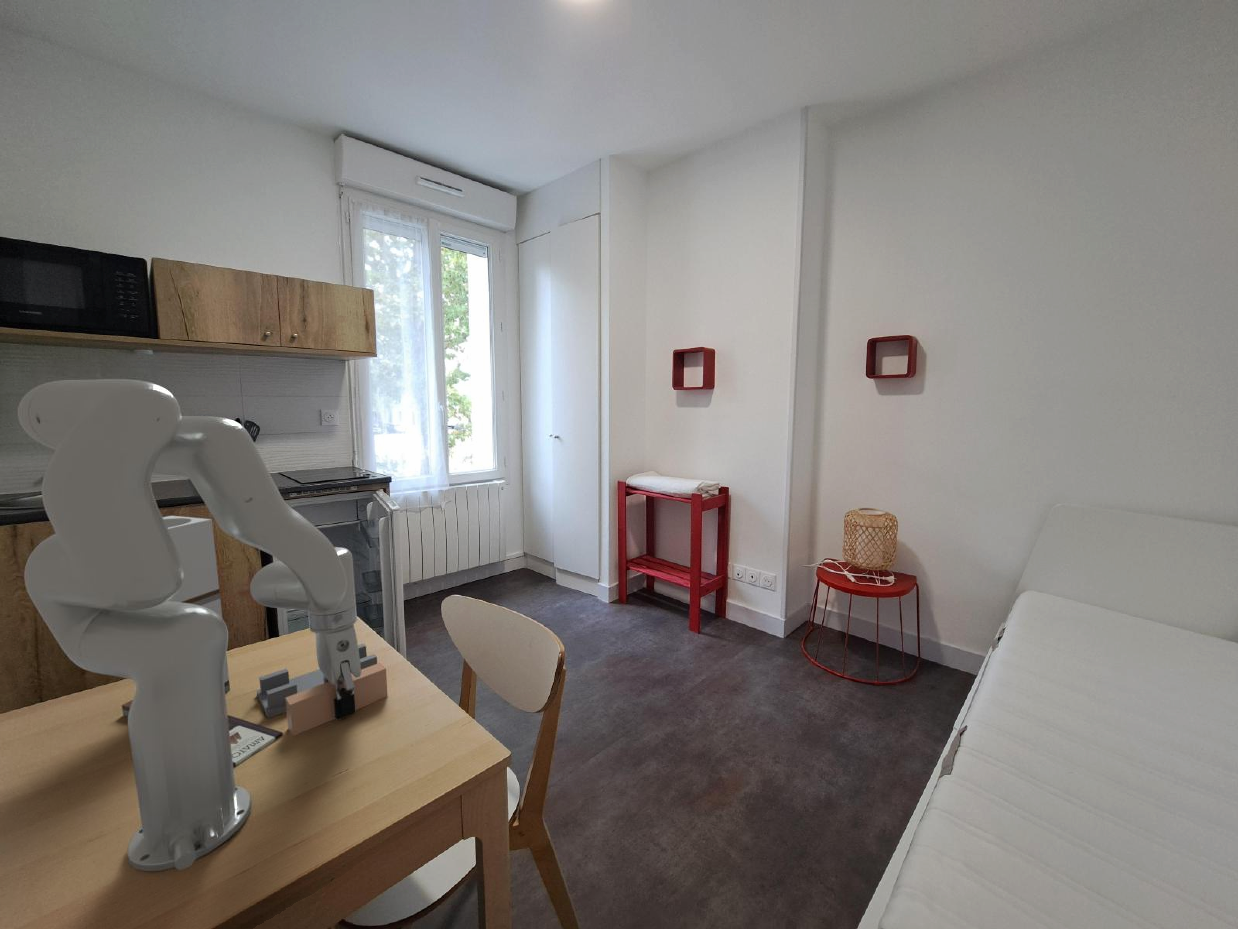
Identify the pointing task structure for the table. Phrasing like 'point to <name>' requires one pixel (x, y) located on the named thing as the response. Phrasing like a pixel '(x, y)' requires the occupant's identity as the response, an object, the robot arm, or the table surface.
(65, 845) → the table surface
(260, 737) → the chocolate bar
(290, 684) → the grey slotted stand
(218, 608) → the white open storage bin
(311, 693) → the clay bar
